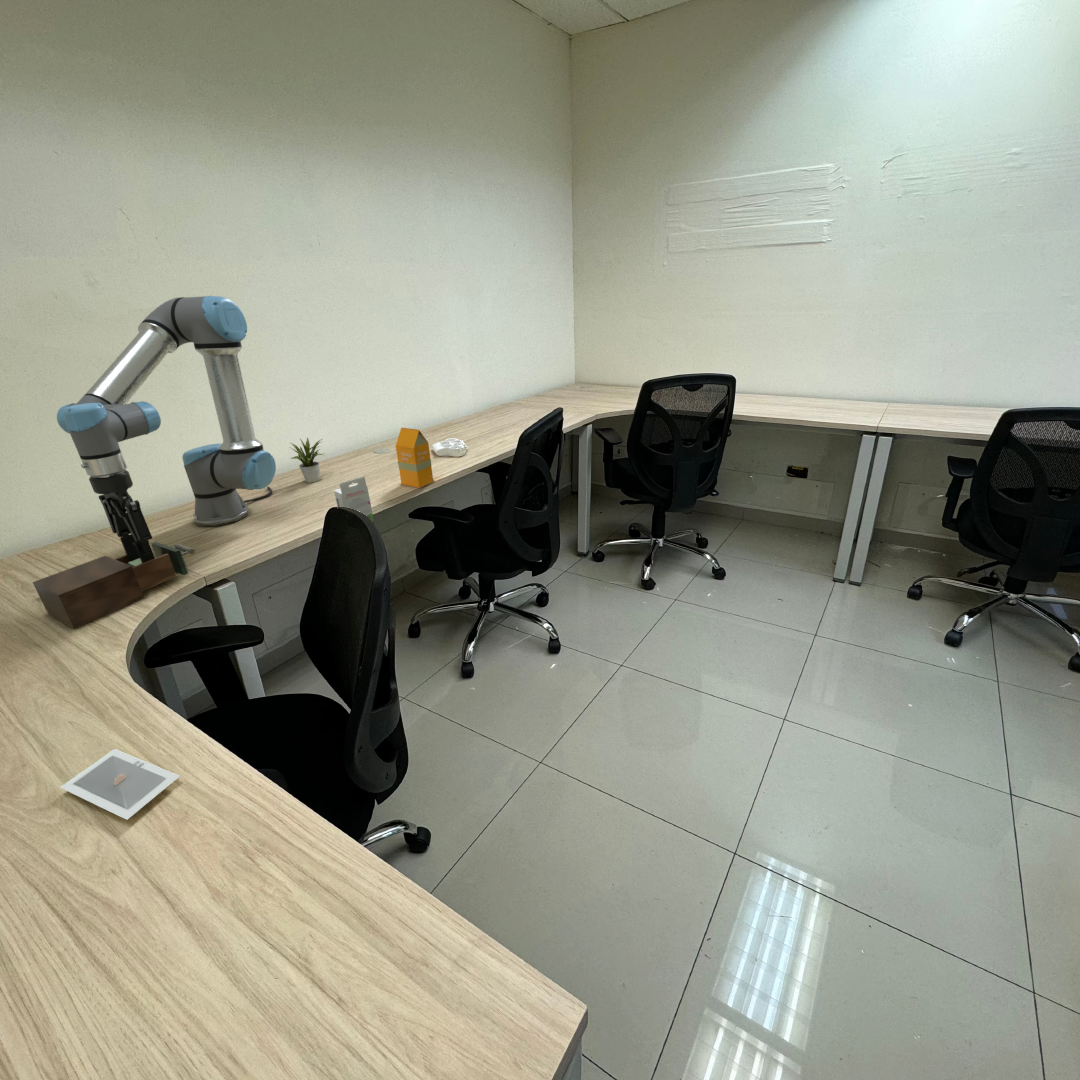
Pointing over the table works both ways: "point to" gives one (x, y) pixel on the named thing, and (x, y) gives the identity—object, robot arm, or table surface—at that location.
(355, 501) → the ink box
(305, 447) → the house plant
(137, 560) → the block
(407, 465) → the orange juice
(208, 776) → the table surface
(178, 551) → the drawer
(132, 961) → the table surface
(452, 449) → the white flat lumpy piece
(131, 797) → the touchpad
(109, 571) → the cabinet
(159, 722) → the table surface
